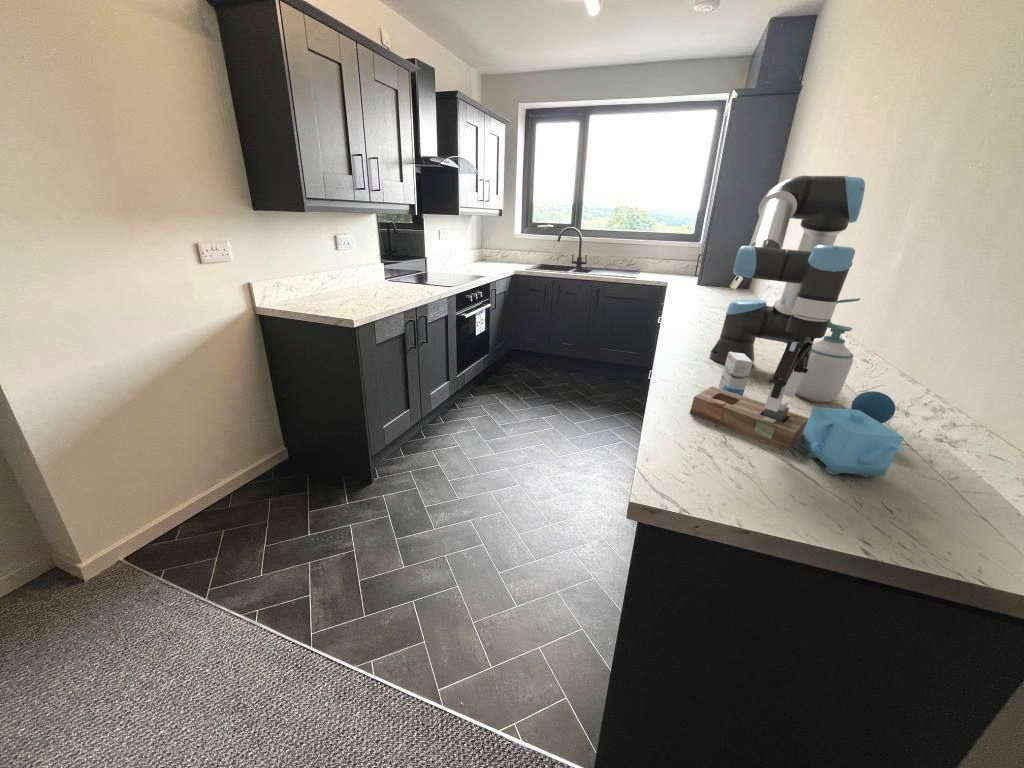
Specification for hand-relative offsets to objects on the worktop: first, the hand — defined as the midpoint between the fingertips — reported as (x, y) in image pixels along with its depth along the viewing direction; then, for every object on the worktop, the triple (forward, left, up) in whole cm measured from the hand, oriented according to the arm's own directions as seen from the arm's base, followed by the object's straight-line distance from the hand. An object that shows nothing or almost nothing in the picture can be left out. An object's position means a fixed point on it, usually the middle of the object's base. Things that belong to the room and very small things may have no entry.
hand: (779, 402), depth 101 cm
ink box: (-20, -17, -9) cm, 28 cm away
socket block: (0, -6, -9) cm, 11 cm away
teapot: (+5, +17, -9) cm, 20 cm away
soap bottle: (-39, +1, -9) cm, 40 cm away
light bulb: (-20, +16, -9) cm, 27 cm away
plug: (0, 0, -8) cm, 8 cm away
